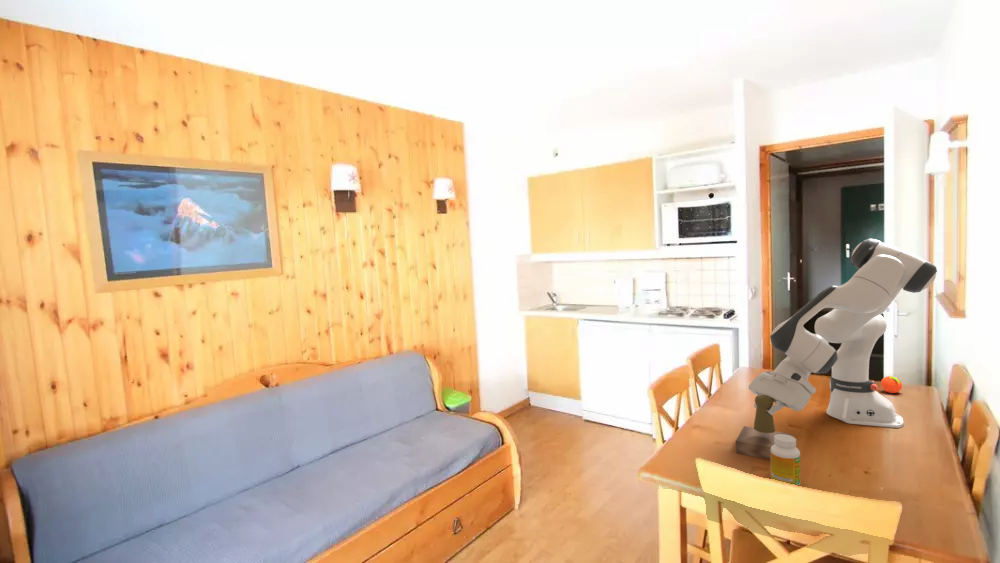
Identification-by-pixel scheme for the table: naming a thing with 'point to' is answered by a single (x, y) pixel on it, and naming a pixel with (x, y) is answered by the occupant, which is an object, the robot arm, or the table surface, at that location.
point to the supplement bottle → (785, 459)
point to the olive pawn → (763, 415)
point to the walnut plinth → (756, 442)
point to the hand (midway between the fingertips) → (762, 410)
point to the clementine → (891, 384)
